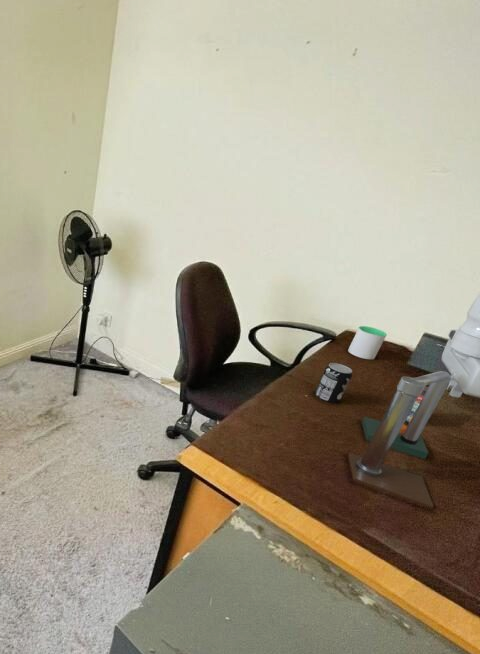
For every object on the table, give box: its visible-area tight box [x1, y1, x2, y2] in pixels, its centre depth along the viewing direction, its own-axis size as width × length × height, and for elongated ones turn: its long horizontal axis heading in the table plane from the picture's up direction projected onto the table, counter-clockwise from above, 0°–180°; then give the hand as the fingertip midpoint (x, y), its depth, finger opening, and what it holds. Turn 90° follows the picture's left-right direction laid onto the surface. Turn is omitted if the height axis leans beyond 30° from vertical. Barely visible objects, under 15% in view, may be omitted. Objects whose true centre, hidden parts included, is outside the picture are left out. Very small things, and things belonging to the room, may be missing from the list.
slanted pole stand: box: [347, 388, 434, 509], centre depth 98 cm, size 14×11×26 cm
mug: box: [347, 325, 387, 360], centre depth 161 cm, size 12×8×10 cm
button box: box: [361, 416, 429, 460], centre depth 116 cm, size 12×10×4 cm
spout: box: [396, 370, 452, 445], centre depth 99 cm, size 16×4×21 cm, turn 108°
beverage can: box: [314, 362, 353, 404], centre depth 133 cm, size 7×7×12 cm
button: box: [399, 423, 408, 434], centre depth 115 cm, size 4×4×2 cm
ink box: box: [405, 386, 429, 423], centre depth 123 cm, size 4×8×15 cm, turn 116°
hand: (452, 394), depth 102 cm, fingers closed
